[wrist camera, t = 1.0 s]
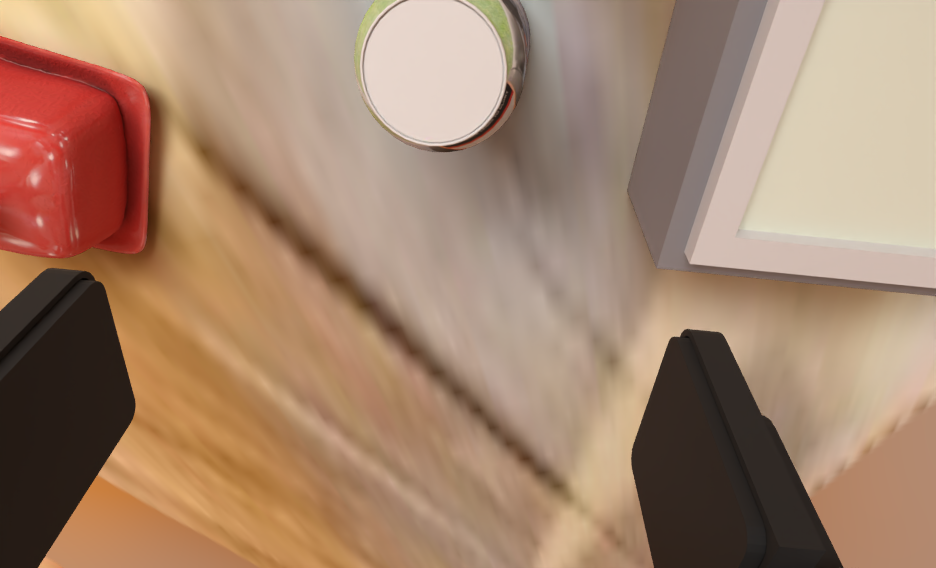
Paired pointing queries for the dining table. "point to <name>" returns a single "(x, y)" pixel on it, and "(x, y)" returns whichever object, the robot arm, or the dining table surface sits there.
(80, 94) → the butter dish
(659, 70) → the stand
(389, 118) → the beverage can
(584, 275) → the dining table surface
